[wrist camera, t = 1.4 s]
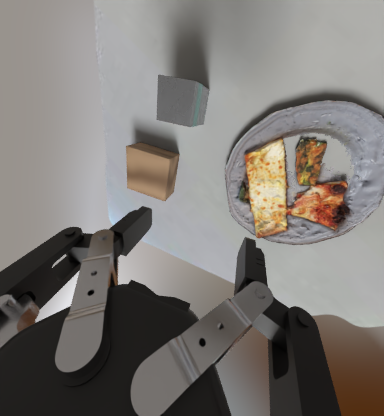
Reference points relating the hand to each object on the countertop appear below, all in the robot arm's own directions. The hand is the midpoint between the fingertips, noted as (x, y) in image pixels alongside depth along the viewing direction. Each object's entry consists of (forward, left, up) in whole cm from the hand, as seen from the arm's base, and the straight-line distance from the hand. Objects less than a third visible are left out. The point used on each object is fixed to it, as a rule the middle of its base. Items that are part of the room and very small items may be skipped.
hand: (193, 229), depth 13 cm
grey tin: (-8, -8, -21) cm, 24 cm away
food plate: (+1, +13, -22) cm, 25 cm away
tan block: (+5, -14, -21) cm, 26 cm away
